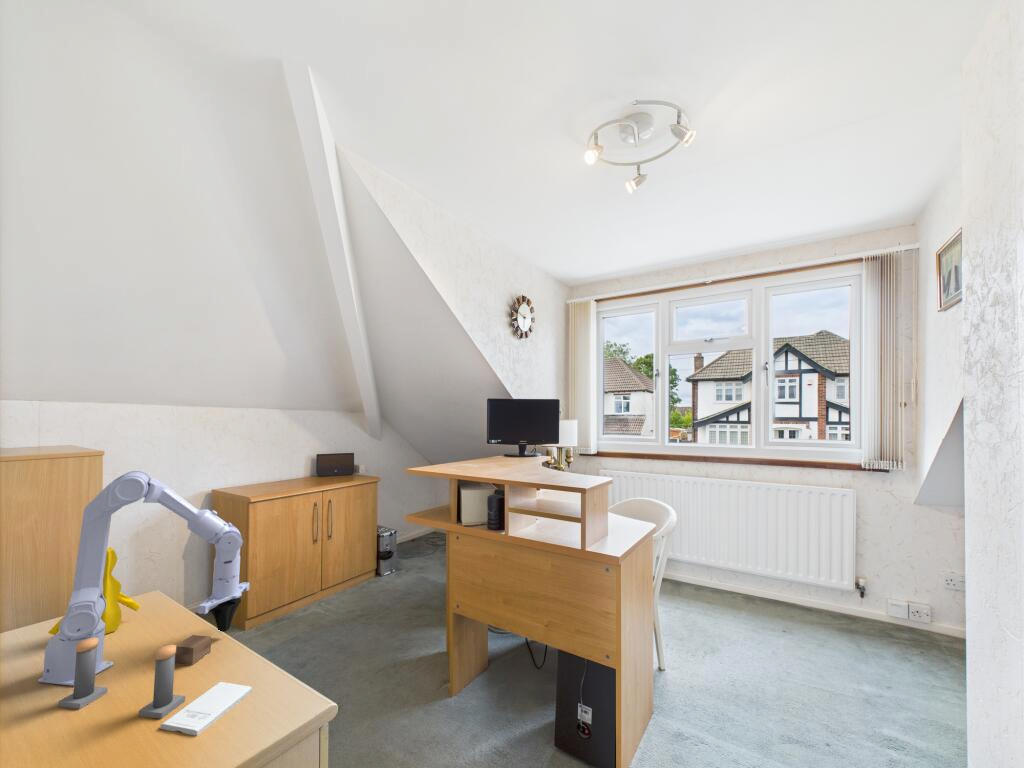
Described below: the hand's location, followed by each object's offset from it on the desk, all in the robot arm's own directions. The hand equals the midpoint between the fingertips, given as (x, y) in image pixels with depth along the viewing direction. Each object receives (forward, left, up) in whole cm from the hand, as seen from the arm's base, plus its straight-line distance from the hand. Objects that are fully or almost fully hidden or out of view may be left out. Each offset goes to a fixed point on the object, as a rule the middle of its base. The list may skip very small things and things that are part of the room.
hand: (223, 630), depth 110 cm
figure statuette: (-33, -3, -2) cm, 33 cm away
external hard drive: (+18, -24, -3) cm, 30 cm away
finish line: (0, -25, -2) cm, 25 cm away
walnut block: (0, -9, -2) cm, 9 cm away
